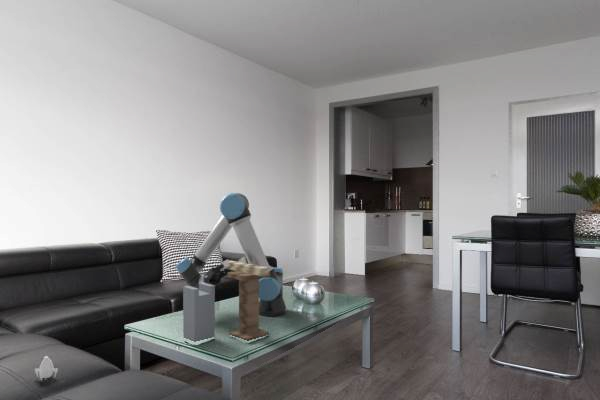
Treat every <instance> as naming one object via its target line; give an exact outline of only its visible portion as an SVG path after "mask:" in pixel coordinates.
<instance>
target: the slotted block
mask: <svg viewBox="0 0 600 400" xmlns="http://www.w3.org/2000/svg"><path fill="white" fill-rule="evenodd" d="M215 288H216V286H215V285H211V284H207V283H199V289H198V288H194V287H191V286H188V285H184V286H183V287H182V291H183V293H182V296H183V298H182V299H183V300H182V302H183V303H182V306H183V307H182V309H183V310H182V311H183V315H182V316H183V318H182V319H183V320H182V321H183V322H182V323H183V326H182V327H183V328H182V329H183V331H182V333H183V338H186V339H189V340H191V341H194V342H196V341H200V340H204V339H208V338H212V337H215V338H216V333H215V332H216V331H215V329H216V327H215V326H216V325H215V324H216V322H215V321H216V317H215V315H216V307H215V305H216V304H215V303H216V301H215V300H216V297H215V296H216V295H215V294H216V292H215V291H216V289H215Z"/></svg>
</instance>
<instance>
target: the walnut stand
mask: <svg viewBox="0 0 600 400" xmlns="http://www.w3.org/2000/svg"><path fill="white" fill-rule="evenodd" d="M269 276H270V271H268V275H264V276H259V275H254V274H249V273H244V272H240V271H233V272H227V275H226V278H230V279H234V280H238V329H234V330H232V331H230V332H228V336H229V335H232V336H235V337H238V338H241V339H244V340H247V341H249V340H252V339H256V338H259V337H263V336H266V335H269V336H270V332H269V331H267V330H264V329H261V328H260V315H259V300H260V298H259V278H264V277H269Z"/></svg>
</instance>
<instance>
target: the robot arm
mask: <svg viewBox="0 0 600 400" xmlns="http://www.w3.org/2000/svg"><path fill="white" fill-rule="evenodd" d="M249 208H250V202H249V200H248V198H247V196H245V195H244V194H243V193H239V192H238V193H237V192H236V193H234V192H232V193H229V194H226V195H225V196H224V197H223V198H222V199H221V201H220V204H219V211H220V213H221V215H222V216H220V218H219V219H218V221H217V222H216V223H215V225H214V227H213V228H212V229H211V230H210V232H209V234H208V235H207V237H206V238H205V239H204V241H203V242H202V244H201V245H200V246H199V247H198V249H197V250H196V252H195V253H194V255H193V256H192V257H191V259H190V258H189V257H184V259H182V260H181V261H179V262H178V263H177V264H175V269H176V271H177V273H178V274H179V275H180V277H182V278H183V280H184V281H185V283H186V284H187V286H191V287H194V288H198V289H199V283H207V284H211V285H215V287H216V286H218V285H219V284H220V283H221V281H222V279H223V278H224V277H227V272H233V271H235V270H230V269H225V268H227V267H228V266H230V263H229V260H230V259H226V260H223V261H224V262H223V263H222V262H221V263H220V264H219V265H217V266H215V267H214V266H212V267H211V268H210V269H209V270H208V271H207V272H206V273H204V274H203V275H201V272H202V271H203V270H204V269H205V266H206V265H207V263H208V261H209V260H210V259H211V257H212V255H213V254H214V253H215V252H216V250H217V249H218V247H219V246H220V245H221V244H222V242H223V241H224V239H225V238H226V236H227V235H228V233H230V231H231V229H232V228H233V230H234V232H235V234H236V237H237V239H238V242H239V243H240V246H241V248H242V251H243V253H244V256H243V257H240V259H238V260H237V261H236V260H235V261H236V262H242V263H247V262H248V263H247V264H253V265H258V266H264V267H268V271H270V276H269V277H264V278H259V316H263V317H278V316H279V317H280V316H282V315H285V314H286V313H287V305H286V303H285V300H284V299H285V298H284V297H283V296H284V291H283V289H284V288H283V285H284V284H283V282H284V280H283V279H284V278H283V277H284V270H283V268H282V267H274V266H271V265H270V264H269V262H268V260H267V257H266V254H265V253H264V250H263V248H262V246H261V243H260V241H259V238H258V235H257V233H256V231H255V229H254V226H253V223H252V222H251V219H252V218H251V217H252V213H251V211H250V209H249Z"/></svg>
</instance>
